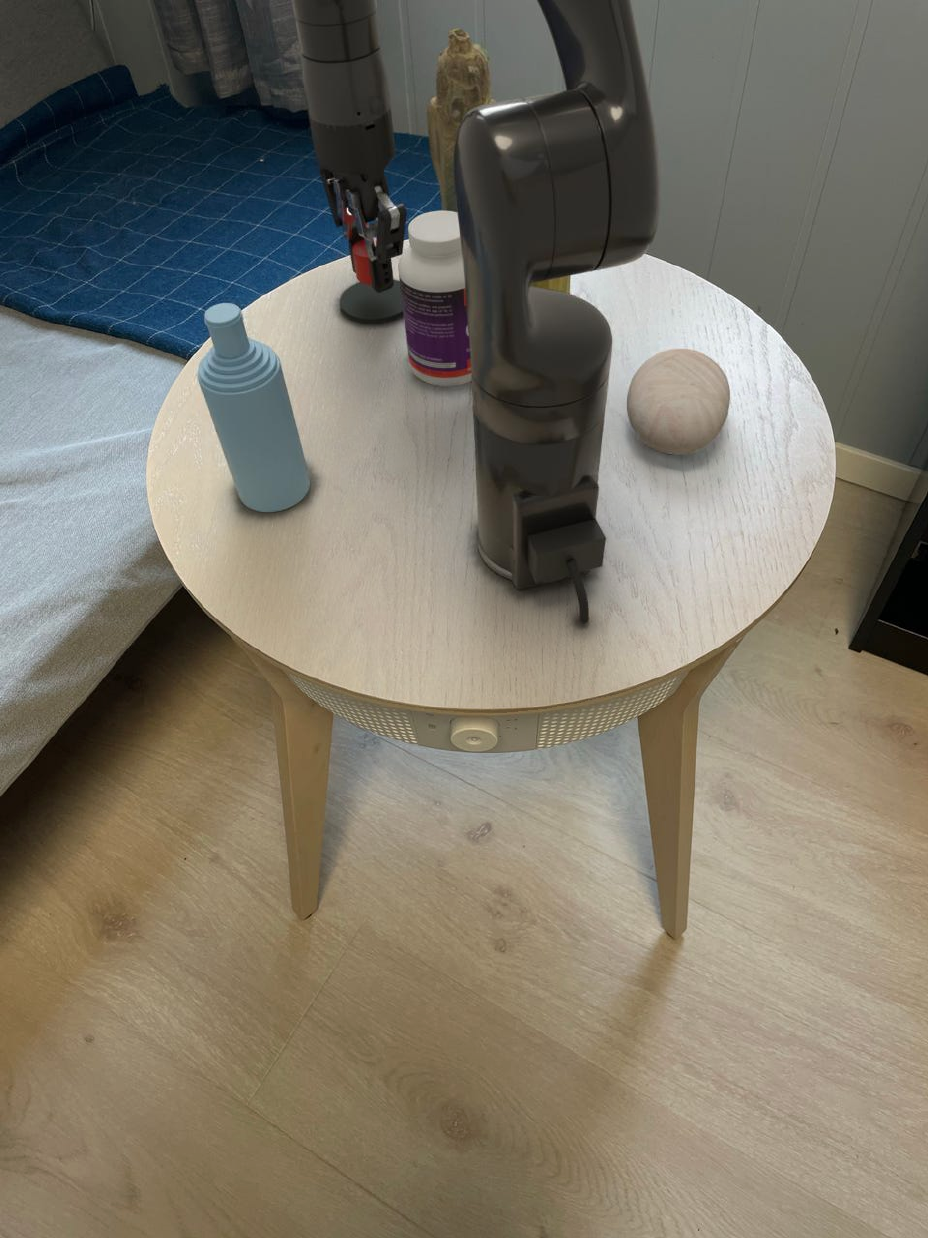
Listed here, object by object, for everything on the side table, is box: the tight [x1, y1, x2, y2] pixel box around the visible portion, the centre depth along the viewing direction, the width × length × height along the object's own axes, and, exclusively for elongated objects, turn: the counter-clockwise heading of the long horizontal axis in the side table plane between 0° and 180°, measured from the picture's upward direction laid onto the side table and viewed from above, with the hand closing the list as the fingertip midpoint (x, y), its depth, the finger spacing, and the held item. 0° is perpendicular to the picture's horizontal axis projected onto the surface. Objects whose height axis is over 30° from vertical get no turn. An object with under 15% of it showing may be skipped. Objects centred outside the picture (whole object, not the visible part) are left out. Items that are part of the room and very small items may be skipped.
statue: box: [426, 27, 497, 212], centre depth 84 cm, size 7×8×25 cm
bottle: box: [196, 302, 311, 513], centre depth 69 cm, size 6×6×17 cm
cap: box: [352, 237, 394, 285], centre depth 89 cm, size 4×4×3 cm
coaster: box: [339, 278, 404, 325], centre depth 93 cm, size 8×8×1 cm
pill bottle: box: [397, 210, 472, 387], centre depth 80 cm, size 8×8×14 cm
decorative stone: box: [626, 348, 731, 455], centre depth 76 cm, size 13×9×5 cm
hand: (373, 279), depth 91 cm, fingers closed on cap, 3 cm apart
